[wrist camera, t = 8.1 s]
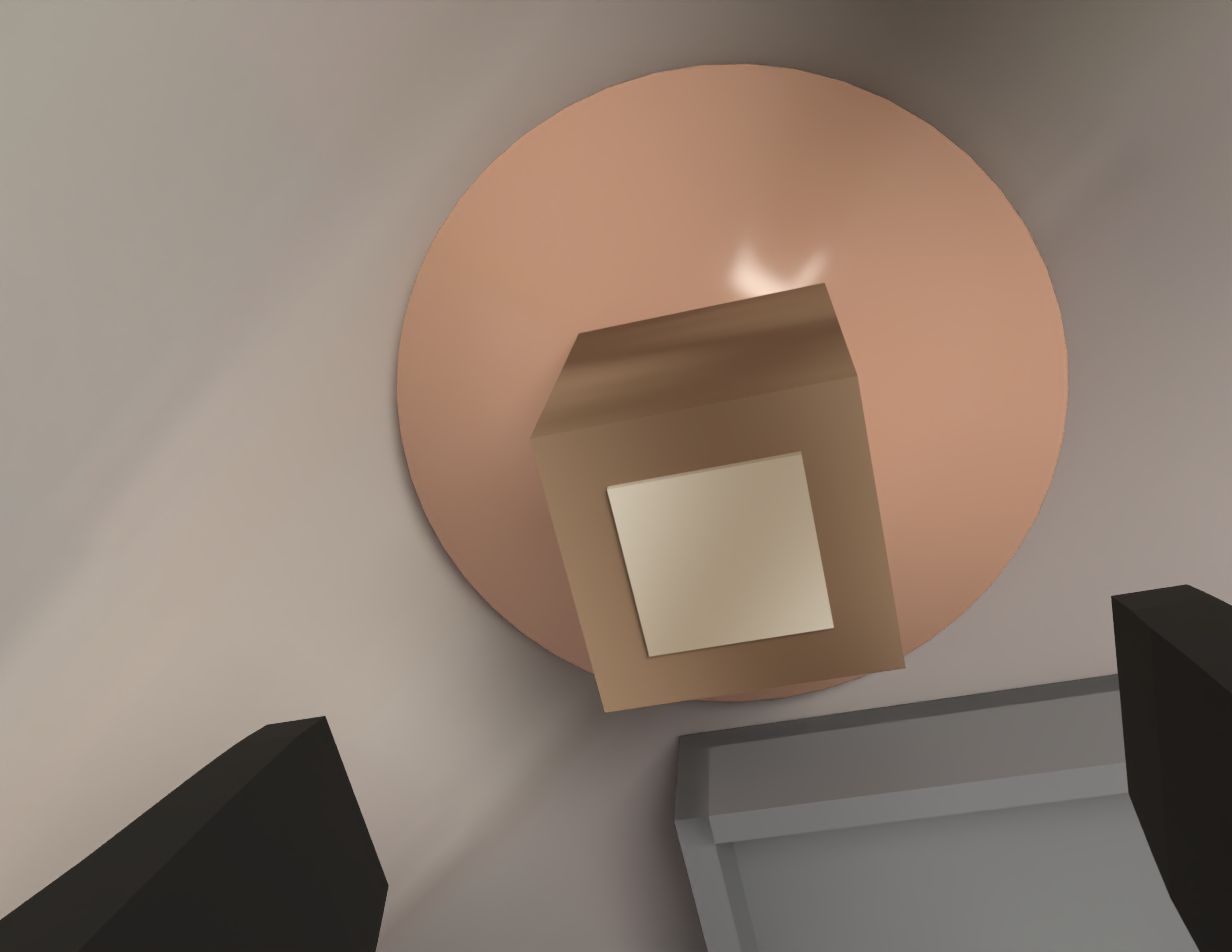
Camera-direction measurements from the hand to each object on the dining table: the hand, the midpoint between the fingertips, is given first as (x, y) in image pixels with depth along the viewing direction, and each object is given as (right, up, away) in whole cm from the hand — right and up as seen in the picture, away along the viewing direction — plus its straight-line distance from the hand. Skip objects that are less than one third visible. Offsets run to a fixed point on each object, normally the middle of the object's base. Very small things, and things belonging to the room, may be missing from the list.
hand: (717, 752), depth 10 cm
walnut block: (+1, +3, +9) cm, 9 cm away
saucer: (+1, +4, +9) cm, 10 cm away
